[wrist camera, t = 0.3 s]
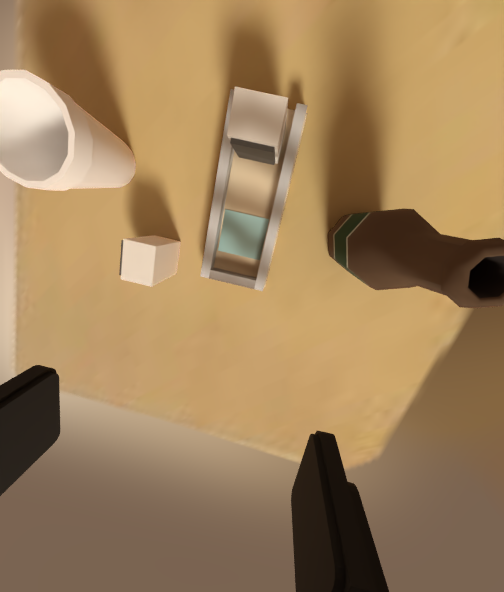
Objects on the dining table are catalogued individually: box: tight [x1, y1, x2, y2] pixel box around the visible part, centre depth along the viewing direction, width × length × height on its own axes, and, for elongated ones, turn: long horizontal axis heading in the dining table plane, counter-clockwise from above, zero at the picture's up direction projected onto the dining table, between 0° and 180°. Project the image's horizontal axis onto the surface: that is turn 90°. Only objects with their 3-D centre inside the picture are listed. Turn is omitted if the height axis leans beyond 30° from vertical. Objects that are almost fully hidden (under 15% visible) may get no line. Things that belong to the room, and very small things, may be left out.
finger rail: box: [200, 86, 308, 291], centre depth 31 cm, size 22×9×10 cm, turn 168°
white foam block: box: [119, 235, 181, 287], centre depth 35 cm, size 4×5×8 cm
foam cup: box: [0, 70, 136, 191], centre depth 29 cm, size 10×9×13 cm
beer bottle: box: [328, 209, 504, 308], centre depth 24 cm, size 8×8×24 cm
